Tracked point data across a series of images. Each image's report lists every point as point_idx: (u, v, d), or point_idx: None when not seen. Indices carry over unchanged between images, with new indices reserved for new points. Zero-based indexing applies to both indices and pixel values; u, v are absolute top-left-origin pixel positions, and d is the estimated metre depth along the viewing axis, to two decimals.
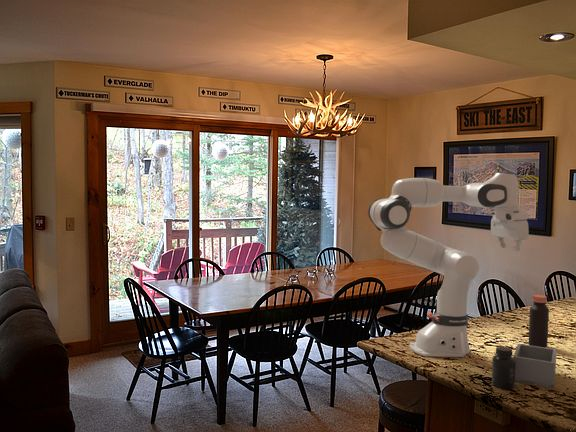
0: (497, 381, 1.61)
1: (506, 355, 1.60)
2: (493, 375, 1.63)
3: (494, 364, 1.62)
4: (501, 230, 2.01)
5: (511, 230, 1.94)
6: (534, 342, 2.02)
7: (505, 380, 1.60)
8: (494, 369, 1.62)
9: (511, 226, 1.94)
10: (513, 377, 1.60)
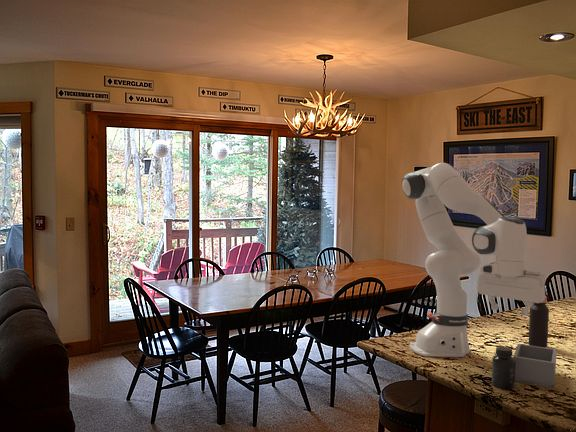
0: (497, 381, 1.61)
1: (506, 355, 1.60)
2: (493, 375, 1.63)
3: (494, 364, 1.62)
4: None
5: None
6: (534, 342, 2.02)
7: (505, 380, 1.60)
8: (494, 369, 1.62)
9: None
10: (513, 377, 1.60)
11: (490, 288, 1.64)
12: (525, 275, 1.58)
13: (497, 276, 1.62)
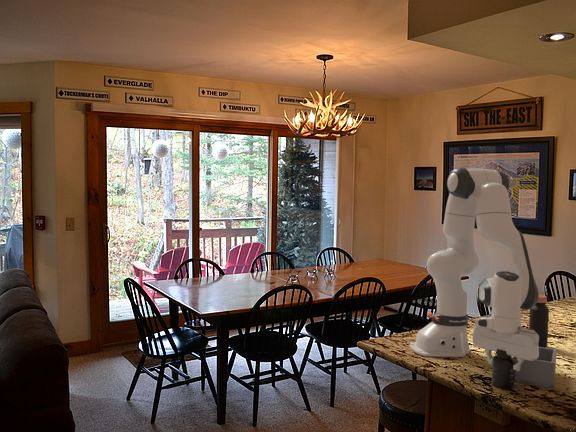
0: (497, 381, 1.61)
1: (506, 355, 1.60)
2: (493, 375, 1.63)
3: (494, 364, 1.62)
4: None
5: None
6: None
7: (505, 380, 1.60)
8: (494, 369, 1.62)
9: None
10: (513, 377, 1.60)
11: (486, 342, 1.65)
12: (519, 332, 1.58)
13: (492, 330, 1.63)
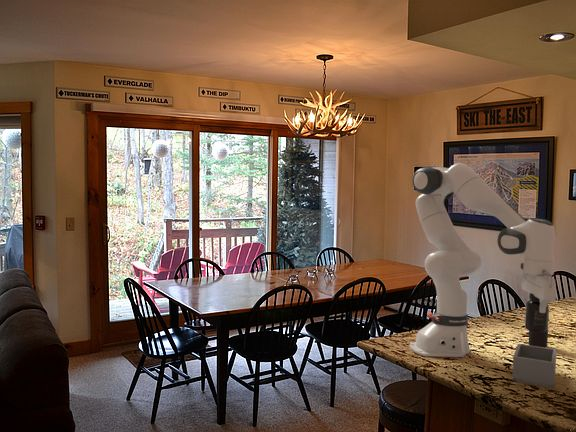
0: (525, 322, 1.71)
1: (533, 298, 1.68)
2: None
3: None
4: None
5: None
6: (534, 342, 2.02)
7: (530, 321, 1.69)
8: None
9: None
10: (539, 320, 1.67)
11: (526, 285, 1.75)
12: (543, 274, 1.65)
13: (528, 273, 1.73)
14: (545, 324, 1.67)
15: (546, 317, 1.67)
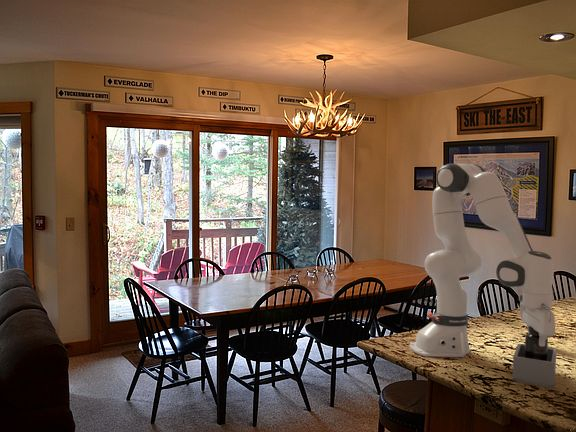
0: None
1: (533, 332, 1.69)
2: None
3: (525, 339, 1.72)
4: None
5: None
6: None
7: (529, 355, 1.69)
8: None
9: None
10: (538, 354, 1.67)
11: (525, 316, 1.76)
12: (542, 308, 1.65)
13: (527, 306, 1.73)
14: (545, 358, 1.68)
15: (545, 351, 1.68)
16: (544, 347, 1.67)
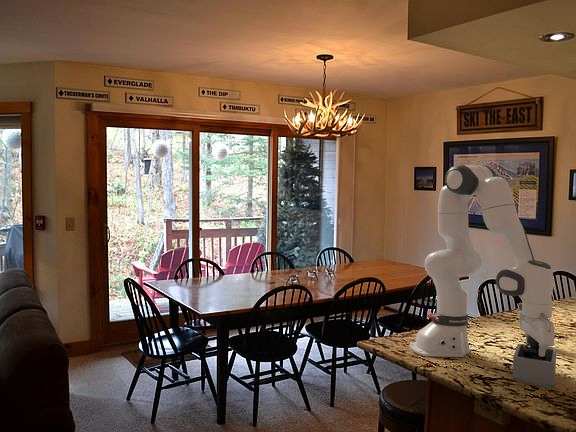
0: None
1: (531, 342, 1.69)
2: None
3: None
4: None
5: None
6: None
7: None
8: None
9: None
10: None
11: (524, 325, 1.76)
12: (541, 318, 1.65)
13: None
14: None
15: None
16: (542, 358, 1.68)
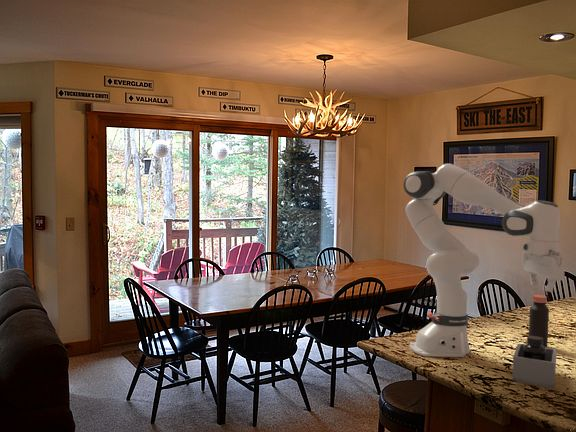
0: None
1: (531, 342, 1.69)
2: None
3: None
4: None
5: None
6: None
7: None
8: None
9: None
10: None
11: (529, 265, 1.81)
12: (550, 254, 1.71)
13: (532, 254, 1.78)
14: None
15: None
16: (542, 358, 1.68)
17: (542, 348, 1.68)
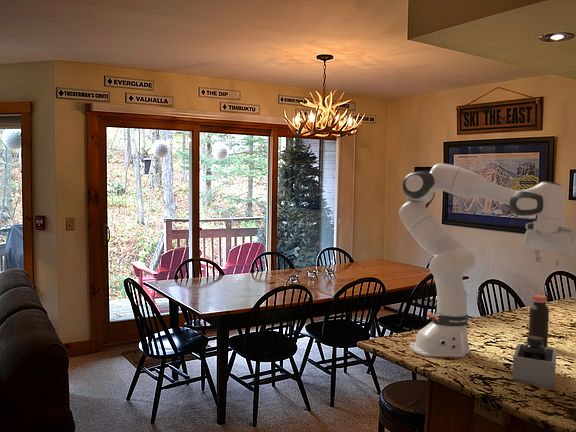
0: None
1: (531, 342, 1.69)
2: None
3: None
4: None
5: None
6: None
7: None
8: None
9: None
10: None
11: (534, 243, 1.91)
12: (560, 231, 1.82)
13: (538, 232, 1.89)
14: None
15: None
16: (542, 358, 1.68)
17: (542, 348, 1.68)
